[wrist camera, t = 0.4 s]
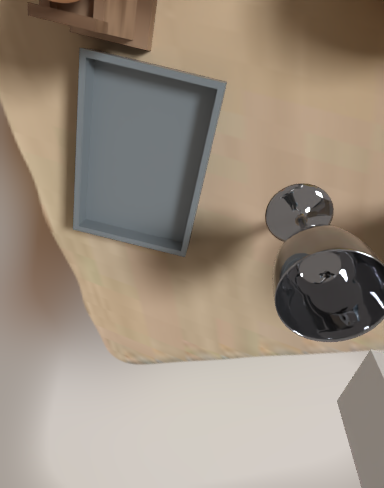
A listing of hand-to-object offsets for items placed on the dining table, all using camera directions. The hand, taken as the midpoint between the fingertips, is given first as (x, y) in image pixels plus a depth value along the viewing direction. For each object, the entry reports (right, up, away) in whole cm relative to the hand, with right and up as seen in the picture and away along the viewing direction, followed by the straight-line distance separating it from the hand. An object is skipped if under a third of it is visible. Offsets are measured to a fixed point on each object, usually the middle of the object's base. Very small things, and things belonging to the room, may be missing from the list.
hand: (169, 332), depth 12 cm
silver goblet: (+12, +6, +25) cm, 29 cm away
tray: (-4, +12, +24) cm, 27 cm away
